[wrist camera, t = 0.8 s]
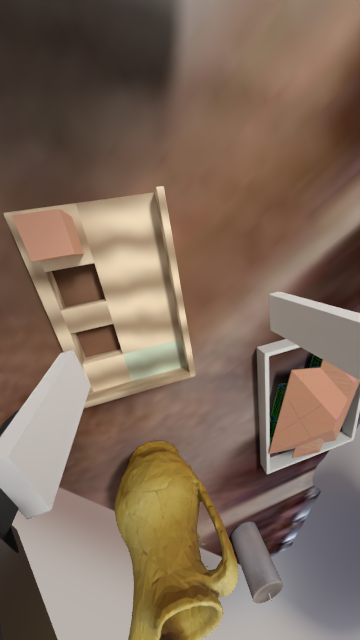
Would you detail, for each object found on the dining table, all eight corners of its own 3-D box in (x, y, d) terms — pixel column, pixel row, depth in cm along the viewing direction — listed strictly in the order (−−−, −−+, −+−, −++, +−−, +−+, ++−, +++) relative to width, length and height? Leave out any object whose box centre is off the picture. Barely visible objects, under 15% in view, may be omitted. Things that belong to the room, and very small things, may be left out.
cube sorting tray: (14, 216, 28) (-10, 208, 23) (159, 196, 31) (163, 186, 26) (87, 390, 38) (80, 409, 34) (188, 362, 42) (195, 375, 37)
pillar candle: (253, 535, 71) (282, 603, 57) (228, 543, 69) (253, 615, 55) (257, 518, 68) (290, 584, 54) (232, 525, 66) (259, 597, 52)
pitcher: (116, 438, 43) (110, 648, 21) (195, 426, 49) (258, 582, 26) (115, 489, 49) (110, 699, 26) (186, 474, 54) (232, 636, 32)
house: (259, 450, 56) (279, 480, 49) (285, 345, 46) (315, 364, 38) (323, 437, 62) (349, 463, 54) (359, 341, 51) (398, 357, 44)
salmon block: (33, 222, 26) (11, 215, 22) (71, 216, 27) (59, 208, 22) (48, 260, 28) (31, 261, 23) (84, 253, 29) (74, 253, 24)
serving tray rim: (256, 347, 44) (264, 353, 42) (364, 317, 49) (378, 320, 46) (260, 463, 58) (266, 474, 56) (344, 431, 63) (353, 440, 60)
